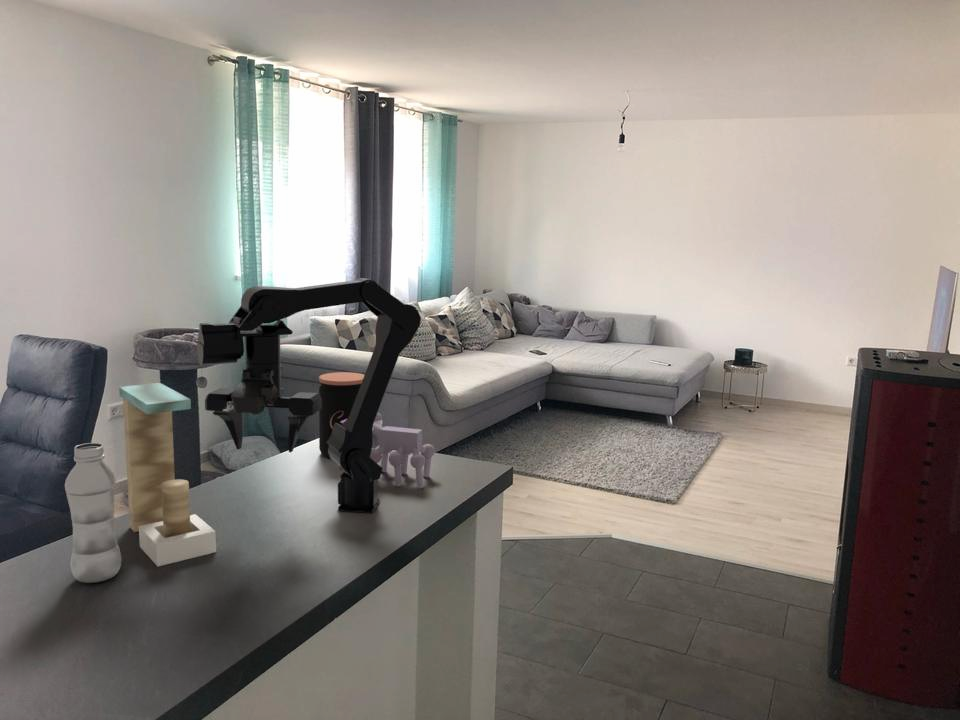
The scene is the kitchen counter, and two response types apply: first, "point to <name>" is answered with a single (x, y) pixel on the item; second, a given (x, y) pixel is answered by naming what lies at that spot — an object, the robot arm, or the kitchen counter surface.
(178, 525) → the peg
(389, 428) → the toy sheep
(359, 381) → the coffee jar
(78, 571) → the plastic bottle
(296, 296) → the robot arm
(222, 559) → the kitchen counter surface
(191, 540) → the socket
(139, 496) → the tall textured pillar
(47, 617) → the kitchen counter surface
